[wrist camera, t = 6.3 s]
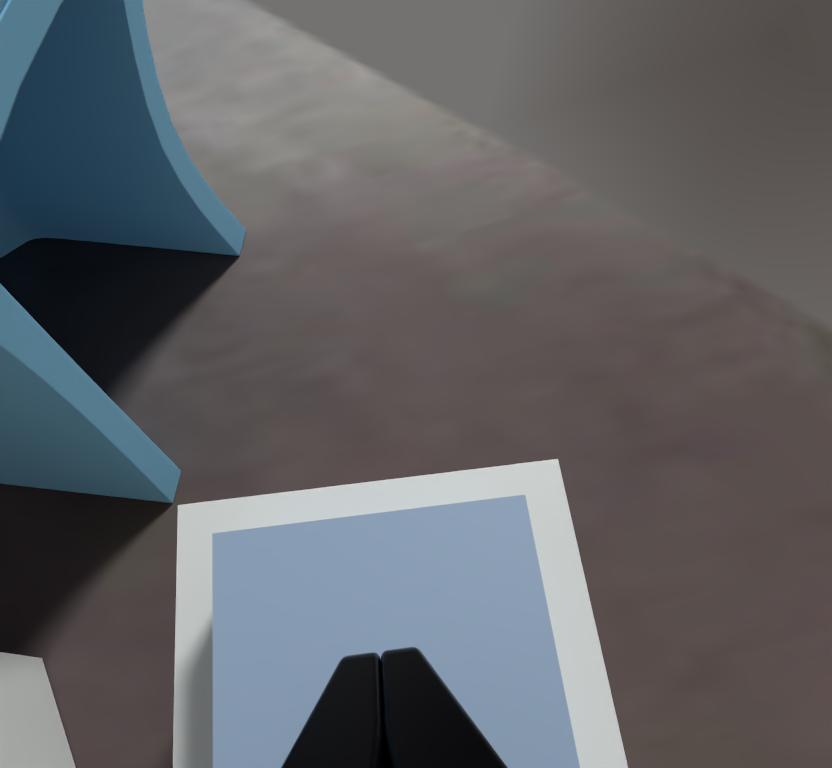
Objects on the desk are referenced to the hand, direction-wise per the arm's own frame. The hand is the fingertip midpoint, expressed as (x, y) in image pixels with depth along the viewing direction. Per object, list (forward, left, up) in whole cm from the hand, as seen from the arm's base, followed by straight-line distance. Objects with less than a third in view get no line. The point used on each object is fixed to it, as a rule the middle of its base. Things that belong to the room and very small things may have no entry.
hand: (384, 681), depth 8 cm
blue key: (0, 0, -8) cm, 8 cm away
